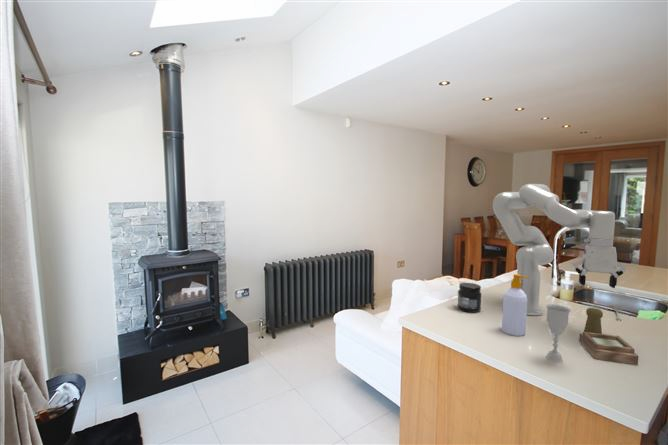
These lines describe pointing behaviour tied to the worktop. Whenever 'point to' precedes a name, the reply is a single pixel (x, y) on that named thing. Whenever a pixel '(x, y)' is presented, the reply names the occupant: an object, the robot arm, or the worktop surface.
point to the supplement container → (469, 297)
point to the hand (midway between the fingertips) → (597, 285)
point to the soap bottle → (514, 308)
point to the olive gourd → (593, 321)
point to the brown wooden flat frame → (608, 348)
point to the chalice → (556, 327)
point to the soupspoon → (616, 310)
